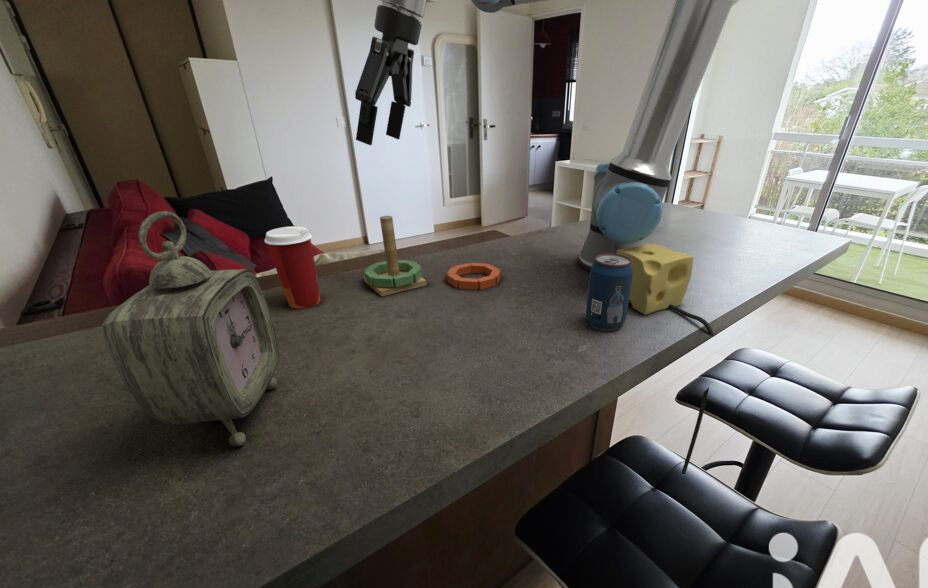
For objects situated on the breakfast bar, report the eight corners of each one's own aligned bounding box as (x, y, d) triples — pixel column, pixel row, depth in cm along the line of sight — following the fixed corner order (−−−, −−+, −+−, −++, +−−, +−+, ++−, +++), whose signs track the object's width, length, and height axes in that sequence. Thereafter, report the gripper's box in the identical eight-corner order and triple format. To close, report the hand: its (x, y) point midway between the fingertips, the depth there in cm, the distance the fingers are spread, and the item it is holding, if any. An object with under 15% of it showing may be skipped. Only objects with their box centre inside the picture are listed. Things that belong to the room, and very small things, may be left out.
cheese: (644, 316, 76) (653, 264, 71) (607, 295, 84) (613, 247, 80) (685, 305, 80) (696, 256, 76) (645, 286, 89) (653, 240, 84)
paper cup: (333, 295, 83) (318, 226, 77) (313, 312, 77) (295, 238, 70) (296, 293, 84) (278, 224, 77) (273, 310, 77) (251, 236, 71)
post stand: (426, 285, 88) (420, 218, 81) (381, 296, 83) (370, 226, 76) (407, 271, 95) (399, 209, 88) (364, 281, 90) (352, 215, 83)
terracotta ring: (509, 281, 90) (509, 274, 89) (465, 293, 84) (464, 285, 84) (481, 266, 98) (481, 259, 97) (439, 277, 92) (438, 269, 91)
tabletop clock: (250, 456, 46) (160, 232, 34) (159, 466, 44) (31, 237, 32) (290, 379, 58) (234, 196, 46) (220, 385, 57) (144, 199, 45)
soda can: (599, 311, 78) (607, 249, 72) (632, 323, 74) (642, 259, 68) (577, 322, 74) (583, 258, 68) (610, 337, 69) (619, 269, 64)
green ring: (429, 279, 87) (429, 271, 86) (378, 291, 81) (376, 283, 81) (407, 264, 95) (406, 256, 94) (359, 274, 89) (357, 266, 88)
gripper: (405, 16, 81) (386, 128, 92) (344, -15, 60) (327, 137, 70) (441, 31, 82) (418, 141, 92) (393, 5, 60) (370, 153, 70)
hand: (379, 139), depth 81 cm, fingers open, 13 cm apart
